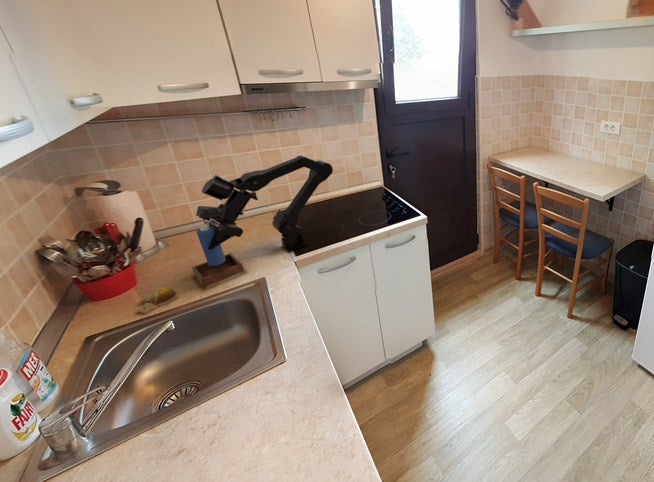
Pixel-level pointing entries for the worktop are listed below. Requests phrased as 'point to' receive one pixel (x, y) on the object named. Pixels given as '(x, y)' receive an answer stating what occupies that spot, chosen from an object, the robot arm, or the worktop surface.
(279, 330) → the worktop surface
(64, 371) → the worktop surface
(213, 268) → the tray
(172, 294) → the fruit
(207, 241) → the bottle
